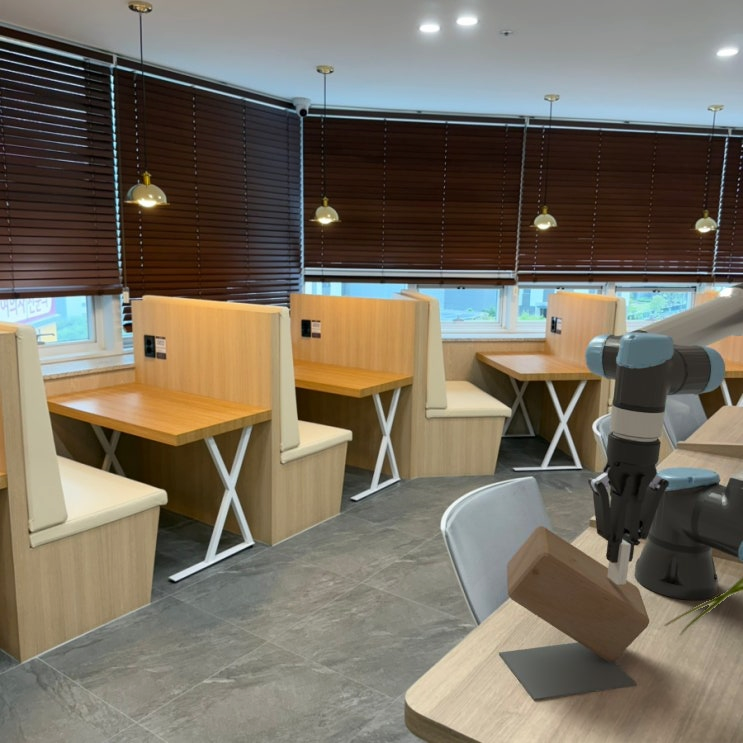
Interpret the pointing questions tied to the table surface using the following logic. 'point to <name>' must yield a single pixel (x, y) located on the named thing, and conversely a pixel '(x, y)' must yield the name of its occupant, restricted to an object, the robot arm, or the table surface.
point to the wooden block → (575, 594)
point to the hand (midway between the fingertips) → (616, 580)
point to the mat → (564, 671)
